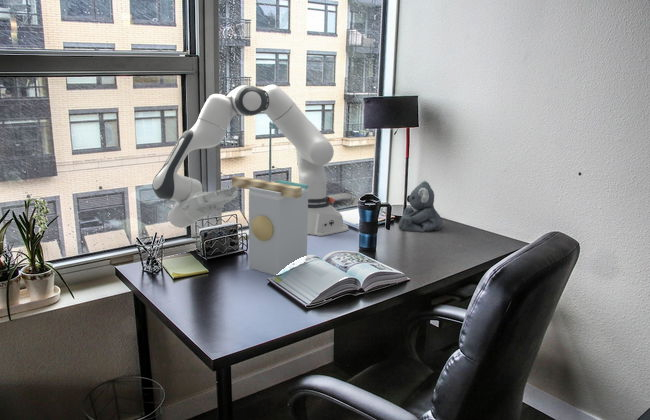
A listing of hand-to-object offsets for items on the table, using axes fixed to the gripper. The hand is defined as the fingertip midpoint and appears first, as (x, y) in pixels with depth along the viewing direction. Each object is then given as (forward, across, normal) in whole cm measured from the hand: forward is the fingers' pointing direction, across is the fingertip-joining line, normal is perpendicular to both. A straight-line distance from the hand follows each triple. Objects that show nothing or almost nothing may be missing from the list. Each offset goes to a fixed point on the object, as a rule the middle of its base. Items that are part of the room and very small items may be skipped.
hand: (226, 190), depth 182 cm
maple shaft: (+16, 0, +6) cm, 17 cm away
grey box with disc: (+4, +4, +30) cm, 31 cm away
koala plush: (+22, +76, +41) cm, 90 cm away
